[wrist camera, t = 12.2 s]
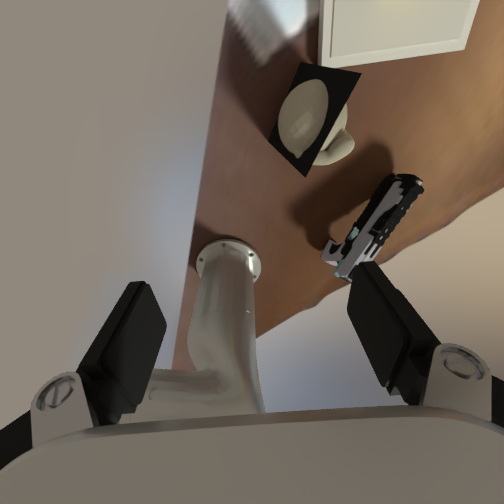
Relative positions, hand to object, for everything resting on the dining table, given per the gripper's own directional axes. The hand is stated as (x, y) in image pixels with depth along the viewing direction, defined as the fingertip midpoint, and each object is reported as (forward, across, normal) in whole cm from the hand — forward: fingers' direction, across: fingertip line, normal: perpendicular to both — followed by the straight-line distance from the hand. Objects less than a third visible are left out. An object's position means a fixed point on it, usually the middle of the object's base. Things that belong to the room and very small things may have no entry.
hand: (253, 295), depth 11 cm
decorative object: (+29, -9, -4) cm, 31 cm away
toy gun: (+30, -18, +12) cm, 36 cm away
